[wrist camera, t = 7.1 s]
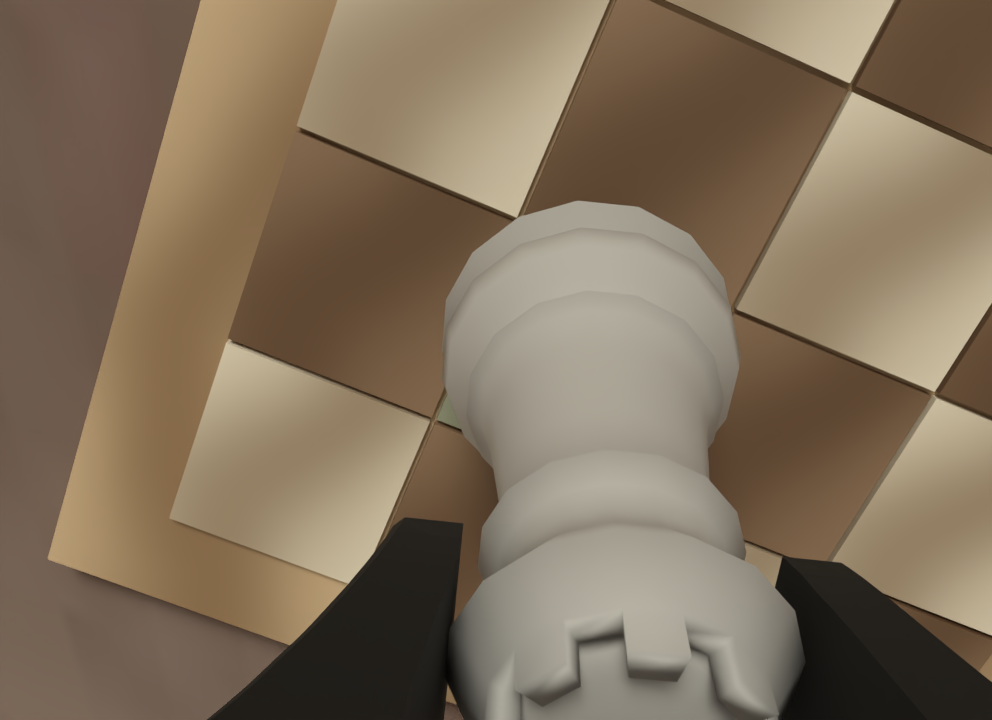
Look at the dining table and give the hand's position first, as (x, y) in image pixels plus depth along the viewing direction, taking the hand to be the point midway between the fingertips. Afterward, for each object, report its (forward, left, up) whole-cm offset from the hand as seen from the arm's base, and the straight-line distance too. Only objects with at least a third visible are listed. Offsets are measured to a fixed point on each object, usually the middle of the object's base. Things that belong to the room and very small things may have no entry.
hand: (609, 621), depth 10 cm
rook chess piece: (0, -1, -6) cm, 6 cm away
